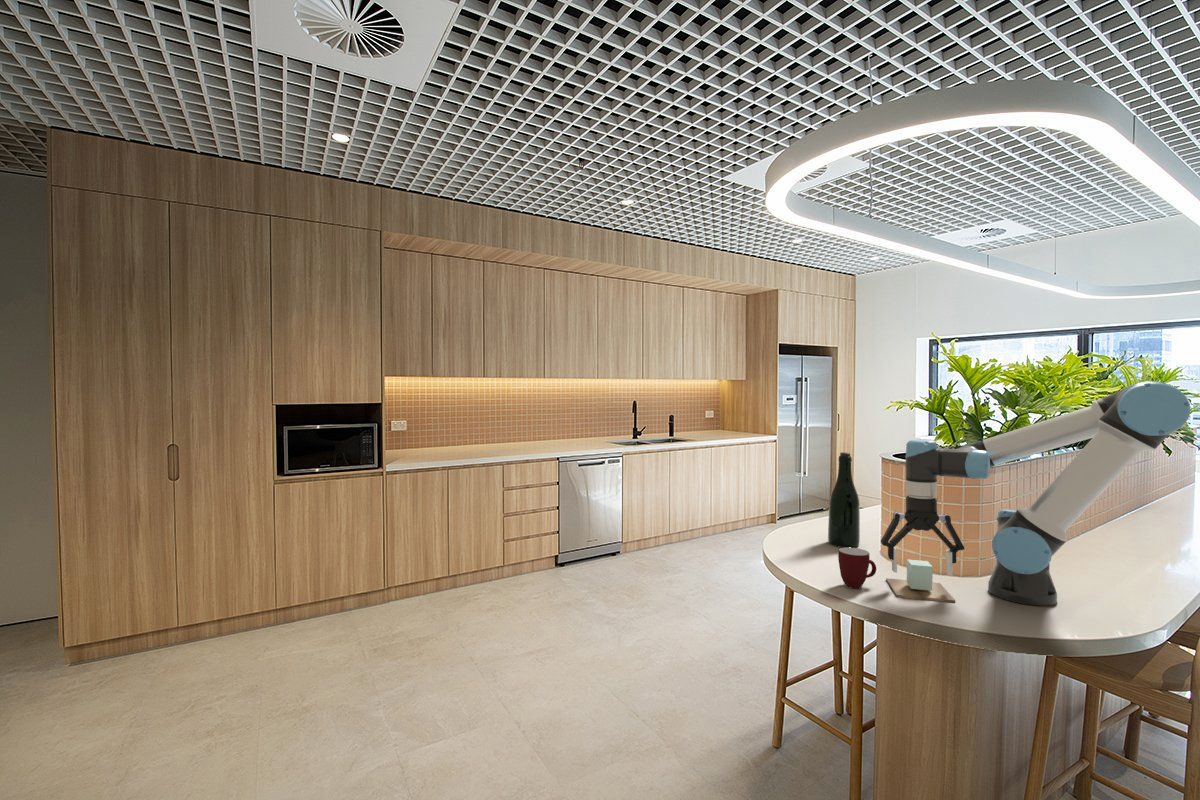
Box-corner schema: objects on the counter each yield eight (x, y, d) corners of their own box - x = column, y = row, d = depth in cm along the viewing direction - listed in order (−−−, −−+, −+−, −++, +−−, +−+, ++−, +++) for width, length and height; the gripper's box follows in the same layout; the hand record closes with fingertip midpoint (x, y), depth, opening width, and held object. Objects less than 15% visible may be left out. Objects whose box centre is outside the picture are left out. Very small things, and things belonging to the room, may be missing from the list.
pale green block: (927, 584, 163) (927, 561, 162) (932, 590, 158) (932, 566, 157) (906, 582, 164) (907, 559, 164) (910, 588, 159) (911, 564, 159)
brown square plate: (939, 585, 166) (940, 560, 166) (955, 602, 152) (956, 575, 152) (886, 580, 170) (886, 555, 169) (896, 596, 156) (897, 570, 156)
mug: (863, 580, 169) (864, 546, 169) (883, 589, 162) (883, 554, 161) (831, 582, 167) (832, 548, 167) (849, 592, 159) (850, 556, 159)
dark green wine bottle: (822, 540, 213) (824, 450, 212) (849, 540, 214) (851, 450, 213) (837, 548, 202) (838, 454, 201) (865, 548, 203) (867, 454, 203)
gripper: (968, 495, 160) (968, 572, 161) (869, 492, 167) (870, 565, 167) (977, 500, 153) (977, 580, 153) (874, 496, 160) (874, 573, 160)
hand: (921, 573), depth 160 cm, fingers open, 13 cm apart
